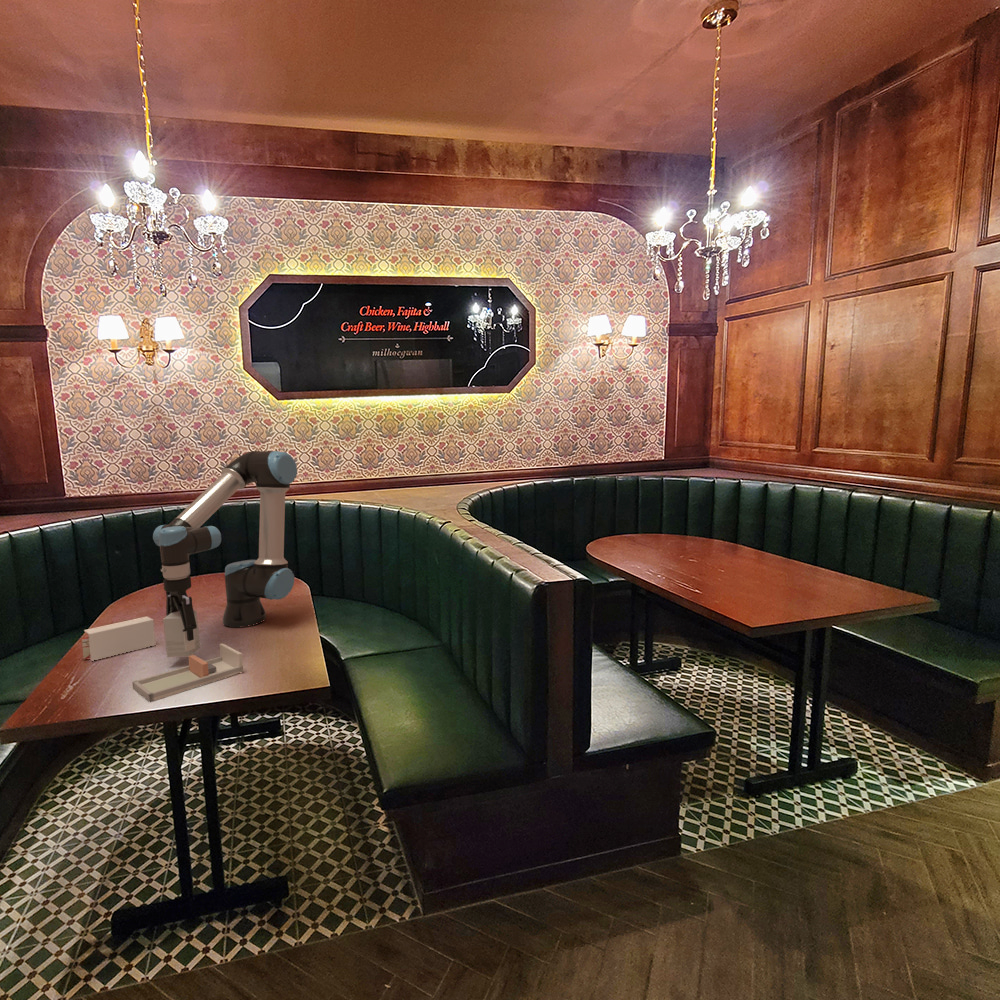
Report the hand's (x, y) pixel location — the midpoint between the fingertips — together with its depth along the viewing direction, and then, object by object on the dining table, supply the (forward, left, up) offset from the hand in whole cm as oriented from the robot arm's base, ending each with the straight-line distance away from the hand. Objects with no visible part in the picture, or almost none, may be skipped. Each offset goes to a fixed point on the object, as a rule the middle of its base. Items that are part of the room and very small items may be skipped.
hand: (183, 645), depth 193 cm
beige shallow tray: (+4, +15, -6) cm, 17 cm away
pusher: (0, +15, -5) cm, 16 cm away
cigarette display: (+10, -26, -6) cm, 28 cm away
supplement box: (0, 0, -3) cm, 3 cm away
